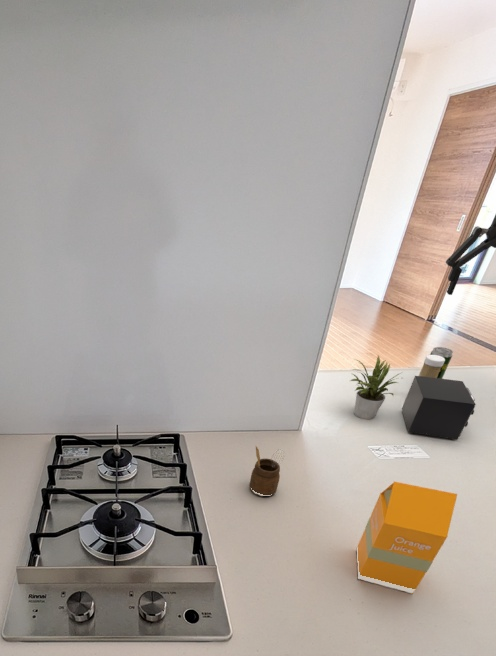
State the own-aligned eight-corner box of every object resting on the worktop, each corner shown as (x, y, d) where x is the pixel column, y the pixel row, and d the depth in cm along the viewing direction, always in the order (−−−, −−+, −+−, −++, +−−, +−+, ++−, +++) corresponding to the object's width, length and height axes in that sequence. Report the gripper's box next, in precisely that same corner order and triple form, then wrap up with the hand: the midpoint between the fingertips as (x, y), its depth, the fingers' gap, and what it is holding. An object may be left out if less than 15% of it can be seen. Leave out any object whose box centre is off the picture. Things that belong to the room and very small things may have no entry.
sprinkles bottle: (415, 403, 128) (433, 361, 120) (405, 396, 131) (422, 354, 124) (430, 402, 128) (449, 360, 120) (420, 395, 131) (438, 353, 124)
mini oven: (450, 417, 121) (468, 381, 115) (462, 442, 111) (482, 405, 105) (400, 410, 125) (415, 375, 118) (407, 434, 115) (423, 397, 109)
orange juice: (355, 549, 84) (390, 467, 72) (408, 562, 81) (453, 479, 69) (357, 580, 78) (395, 497, 66) (413, 595, 75) (464, 511, 64)
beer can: (413, 383, 138) (428, 347, 131) (428, 381, 138) (443, 346, 131) (426, 391, 133) (442, 354, 126) (441, 389, 134) (458, 352, 127)
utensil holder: (280, 497, 97) (291, 453, 90) (252, 499, 96) (261, 455, 89) (270, 480, 101) (280, 437, 94) (244, 482, 101) (252, 439, 94)
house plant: (332, 397, 132) (347, 346, 123) (382, 402, 129) (402, 350, 119) (338, 422, 121) (355, 367, 111) (394, 428, 117) (416, 372, 108)
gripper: (577, 204, 104) (530, 294, 116) (454, 203, 111) (422, 288, 124) (592, 208, 98) (541, 303, 110) (461, 206, 106) (427, 295, 118)
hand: (478, 295), depth 117 cm, fingers open, 13 cm apart
